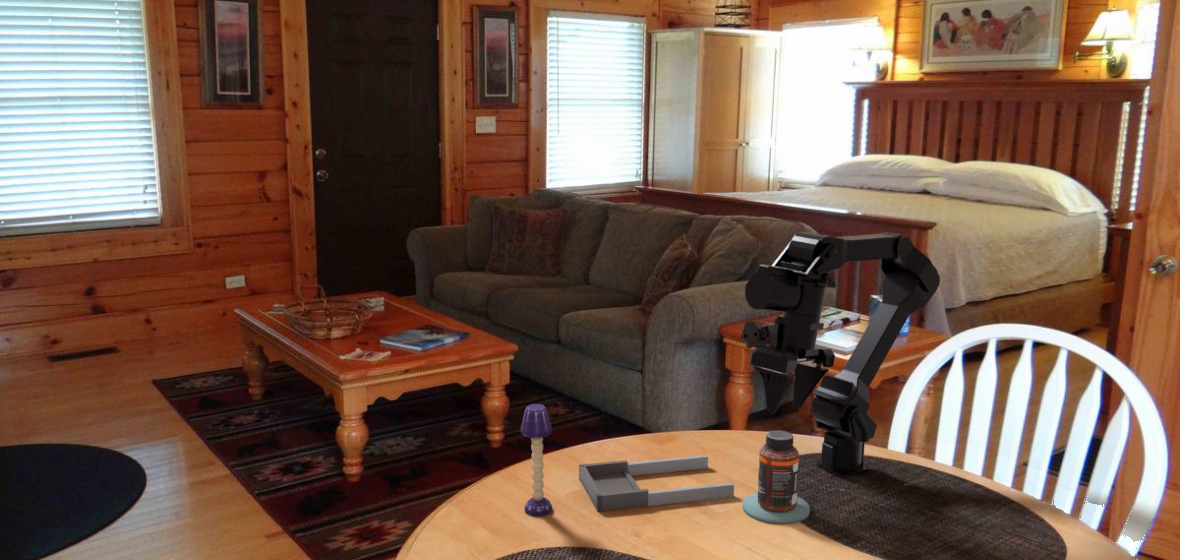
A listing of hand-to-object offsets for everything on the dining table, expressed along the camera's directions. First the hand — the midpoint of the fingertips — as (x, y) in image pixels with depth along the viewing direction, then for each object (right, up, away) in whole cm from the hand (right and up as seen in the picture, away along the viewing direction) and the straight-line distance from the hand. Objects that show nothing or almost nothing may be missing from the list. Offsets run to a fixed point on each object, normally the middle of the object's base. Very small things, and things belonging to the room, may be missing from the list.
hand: (783, 410), depth 150 cm
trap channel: (-20, -13, +3) cm, 24 cm away
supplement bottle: (-2, -14, -5) cm, 15 cm away
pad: (-2, -14, -5) cm, 15 cm away
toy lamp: (-38, -15, -5) cm, 42 cm away
